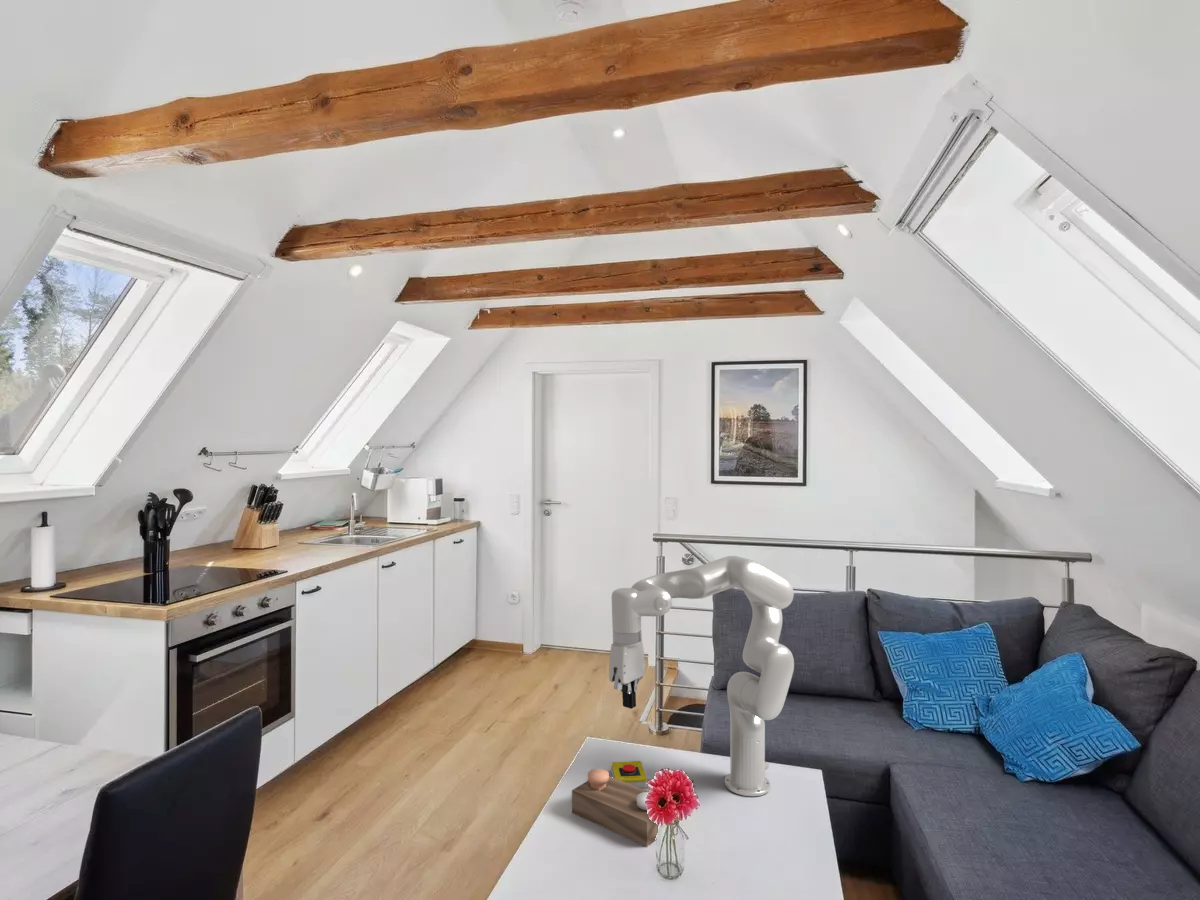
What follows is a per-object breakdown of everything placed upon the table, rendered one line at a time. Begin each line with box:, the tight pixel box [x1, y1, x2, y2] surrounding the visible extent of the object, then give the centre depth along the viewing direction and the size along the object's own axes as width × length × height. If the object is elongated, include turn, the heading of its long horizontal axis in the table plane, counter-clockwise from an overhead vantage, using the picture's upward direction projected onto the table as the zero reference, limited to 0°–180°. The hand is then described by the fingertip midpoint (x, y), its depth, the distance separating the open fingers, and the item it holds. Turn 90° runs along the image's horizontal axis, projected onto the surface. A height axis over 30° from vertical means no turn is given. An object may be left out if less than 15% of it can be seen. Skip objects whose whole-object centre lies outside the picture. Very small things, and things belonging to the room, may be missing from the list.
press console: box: [571, 775, 658, 847], centre depth 174 cm, size 12×24×6 cm, turn 51°
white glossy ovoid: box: [637, 791, 650, 810], centre depth 169 cm, size 6×6×8 cm
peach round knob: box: [587, 768, 610, 791], centre depth 179 cm, size 6×6×8 cm
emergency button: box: [610, 760, 648, 791], centre depth 195 cm, size 9×4×15 cm
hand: (629, 706), depth 177 cm, fingers closed
